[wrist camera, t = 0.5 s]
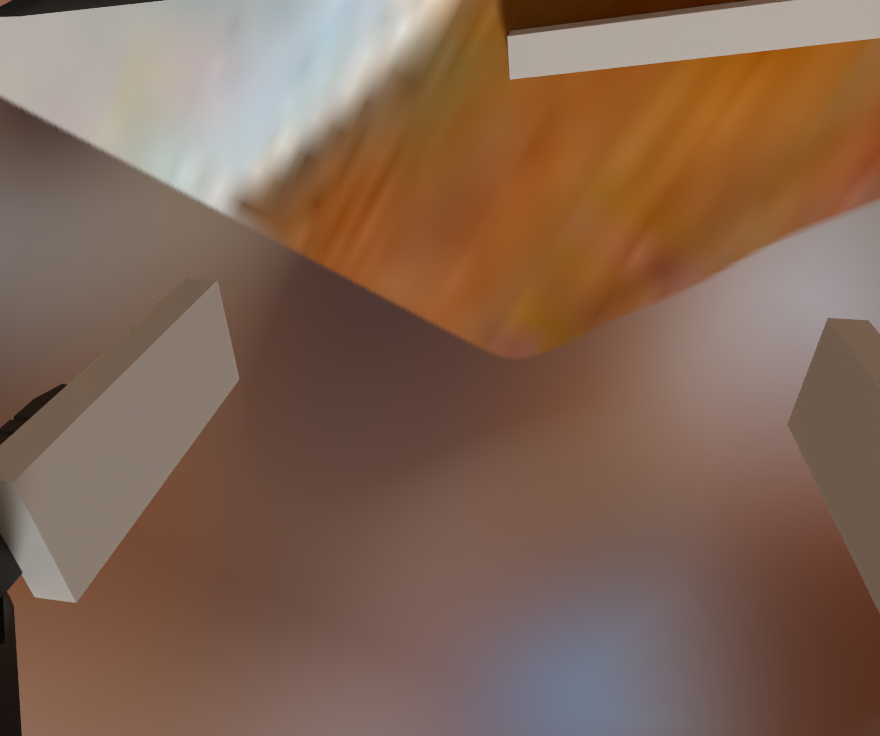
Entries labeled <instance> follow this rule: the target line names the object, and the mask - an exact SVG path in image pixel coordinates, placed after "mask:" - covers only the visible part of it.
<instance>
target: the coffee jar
mask: <svg viewBox="0 0 880 736" xmlns="http://www.w3.org/2000/svg"><path fill="white" fill-rule="evenodd" d="M153 1H162V0H0V17H10V16H26V15H35V14H44V13H54V12H63V11H72V10H81V9H90V8H99V7H108V6H117V5H126V4H135V3H144V2H153Z"/></svg>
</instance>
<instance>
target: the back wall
mask: <svg viewBox="0 0 880 736" xmlns="http://www.w3.org/2000/svg"><path fill="white" fill-rule="evenodd" d="M507 38H508V55H509V71H510V79H519V78H528V77H537V76H546V75H555V74H563V73H572V72H581V71H590V70H599V69H608V68H617V67H626V66H634V65H643V64H652V63H661V62H670V61H679V60H688V59H696V58H705V57H714V56H723V55H732V54H741V53H750V52H758V51H767V50H776V49H785V48H794V47H803V46H812V45H821V44H829V43H838V42H847V41H856V40H865V39H874V38H880V0H747V1H739V2H731V3H723V4H716V5H708V6H700V7H692V8H684V9H676V10H669V11H661V12H653V13H645V14H637V15H629V16H622V17H614V18H606V19H598V20H590V21H583V22H575V23H567V24H559V25H551V26H543V27H536V28H528V29H520V30H512V31H510V33H509V35H508V36H507Z"/></svg>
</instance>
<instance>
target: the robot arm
mask: <svg viewBox="0 0 880 736" xmlns="http://www.w3.org/2000/svg"><path fill="white" fill-rule="evenodd" d="M238 380H239V375H238V371H237V366H236V362H235V358H234V353H233V349H232V344H231V340H230V335H229V331H228V326H227V322H226V317H225V313H224V308H223V304H222V299H221V295H220V290H219V286H218V281H217V280H204V279H189V278H186V279H185V280H184V281H183V282H182V283H180V284H179V285H178V286H177V287H176V288H175V289H174V290H172V291H171V292H170V293H169V294H168V295H167V296H166V297H165V298H164V299H162V300H161V301H160V302H159V303H158V304H157V305H156V306H155V307H154V308H152V309H151V310H150V311H149V312H148V313H147V314H146V315H145V316H143V318H141V319H140V320H139V321H138V322H137V323H136V324H135V325H133V326H132V327H131V328H130V329H129V330H128V331H127V332H126V333H125V334H123V335H122V336H121V337H120V338H119V339H118V340H117V341H116V342H115V343H113V344H112V345H111V346H110V347H109V348H108V349H107V350H106V351H105V352H103V353H102V354H101V355H100V356H99V357H98V358H97V359H96V360H95V361H93V362H92V363H91V364H90V365H89V366H88V367H87V368H86V369H85V370H83V371H82V372H81V373H80V374H79V375H78V376H77V377H76V378H75V379H73V380H72V381H71V382H70V383H69V384H68V385H66V384H61V385H59V386H57V387H55V388H54V389H52V390H50V391H48V392H46V393H44V394H42V395H40V396H39V397H37V398H35V399H33V400H32V401H31V402H30V403H29V404H28V405H27V406H25V407H24V408H23V409H22V410H21V411H20V412H18V413H17V414H16V415H15V416H14V420H9V421H8V422H7V423H6V424H5V425H4V426H2V427H1V428H0V736H22V733H21V717H20V701H19V684H18V668H17V652H16V636H15V619H14V605H13V603H12V601H11V599H10V596H9V595H8V593H7V590H8V589H9V588H10V587H11V586H12V585H13V583H14V582H15V581H16V580H17V579H18V577H19V576H20V575H21V574H22V576H23V578H24V579H25V581H26V583H27V585H28V586H29V588H30V590H31V592H32V593H33V595H34V597H38V598H45V599H52V600H60V601H67V602H75V603H76V602H77V601H78V599H79V598H80V597H81V595H82V594H83V593H84V591H85V590H86V589H87V587H88V586H89V584H90V583H91V582H92V580H93V579H94V578H95V576H96V575H97V573H98V572H99V571H100V569H101V568H102V567H103V565H104V564H105V563H106V561H107V560H108V558H109V557H110V556H111V554H112V553H113V552H114V550H115V549H116V548H117V546H118V545H119V543H120V542H121V541H122V539H123V538H124V537H125V535H126V534H127V532H128V531H129V530H130V528H131V527H132V526H133V524H134V523H135V521H136V520H137V519H138V517H139V516H140V515H141V513H142V512H143V511H144V509H145V508H146V506H147V505H148V504H149V502H150V501H151V500H152V498H153V497H154V495H155V494H156V493H157V491H158V490H159V488H160V487H161V486H162V484H163V483H164V482H165V480H166V479H167V478H168V476H169V475H170V473H171V472H172V471H173V469H174V468H175V467H176V465H177V464H178V463H179V461H180V460H181V458H182V457H183V456H184V454H185V453H186V451H187V450H188V449H189V447H190V446H191V444H192V443H193V442H194V441H195V439H196V438H197V436H198V435H199V434H200V432H201V431H202V430H203V428H204V427H205V425H206V424H207V423H208V421H209V420H210V419H211V417H212V416H213V414H214V413H215V412H216V410H217V409H218V408H219V406H220V405H221V403H222V402H223V401H224V399H225V398H226V397H227V395H228V394H229V393H230V391H231V390H232V388H233V387H234V386H235V384H236V383H237V382H238ZM787 425H788V427H789V429H790V431H791V433H792V435H793V437H794V439H795V441H796V443H797V445H798V447H799V449H800V451H801V453H802V455H803V457H804V459H805V462H806V464H807V465H808V468H809V470H810V472H811V474H812V476H813V478H814V480H815V482H816V484H817V486H818V488H819V490H820V492H821V494H822V496H823V498H824V500H825V502H826V504H827V507H828V508H829V511H830V513H831V515H832V517H833V519H834V521H835V523H836V525H837V527H838V529H839V531H840V533H841V535H842V537H843V539H844V541H845V543H846V545H847V547H848V549H849V551H850V554H851V555H852V558H853V560H854V562H855V564H856V566H857V568H858V570H859V572H860V574H861V576H862V578H863V580H864V582H865V584H866V586H867V588H868V590H869V592H870V594H871V597H872V599H873V600H874V603H875V605H876V607H877V609H878V611H879V613H880V334H879V333H878V331H877V330H876V329H875V328H874V327H873V325H872V324H871V323H870V322H869V321H867V320H851V319H834V318H828V319H827V322H826V325H825V327H824V330H823V332H822V335H821V337H820V340H819V343H818V345H817V348H816V351H815V353H814V356H813V358H812V361H811V364H810V366H809V369H808V372H807V374H806V377H805V379H804V382H803V385H802V388H801V390H800V393H799V396H798V398H797V401H796V403H795V406H794V408H793V411H792V414H791V417H790V419H789V422H788V424H787Z"/></svg>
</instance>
